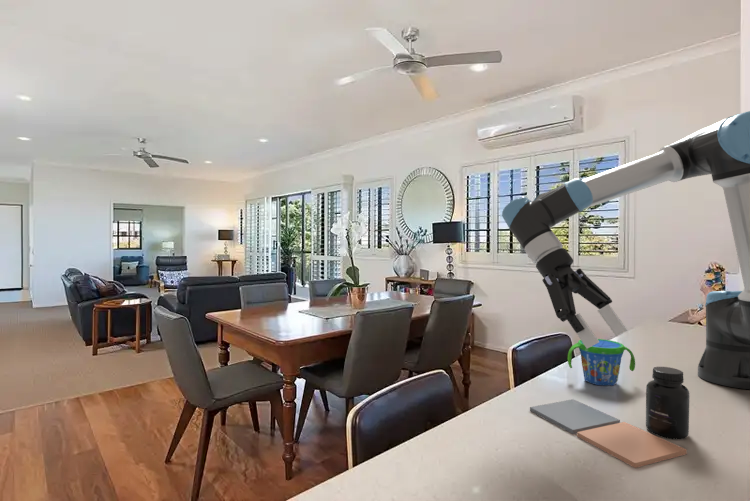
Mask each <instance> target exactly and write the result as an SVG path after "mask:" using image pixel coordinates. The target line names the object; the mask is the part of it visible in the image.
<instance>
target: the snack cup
mask: <svg viewBox="0 0 750 501" xmlns="http://www.w3.org/2000/svg"><path fill="white" fill-rule="evenodd" d="M597 339H598V340H599V343H597V344H595V345H593V346H591V347H590V348H586V347H585V345H584V344H583V342H582V341H581V339H579V340H578V342H576V343H574V344H573V345H571V346H570V348H569V350H568V351H567V352H568V353H567V364H568V367H569V368H570V369H573V366H572V362H573V351H575V349H579V352H580V361H581V366H582V373H583V374H582V375H583V378H584V379H583V380H585V382H587V383H590V384H593V385H596V386H603V387H604V386H605V387H606V386H615V385H616V384H617V383H618V381H619V374H620V369H621V363H622V357H623V356H624V352H625V351H627V352H628V353H629V354H630V355H629V356H630V361H629V371H632V372H634V371H635V368H636V359H635V356H634V355H635V354H634V353H633V352H632V351H631V349H630V348H628V347H627V346H625V345H624V344H623V343H621V342H618V341H615V340H609V339H603V338H597Z"/></svg>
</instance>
